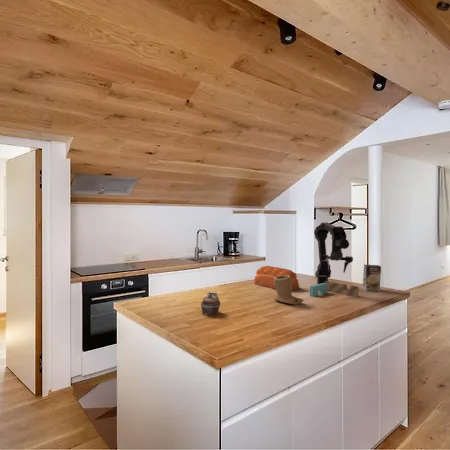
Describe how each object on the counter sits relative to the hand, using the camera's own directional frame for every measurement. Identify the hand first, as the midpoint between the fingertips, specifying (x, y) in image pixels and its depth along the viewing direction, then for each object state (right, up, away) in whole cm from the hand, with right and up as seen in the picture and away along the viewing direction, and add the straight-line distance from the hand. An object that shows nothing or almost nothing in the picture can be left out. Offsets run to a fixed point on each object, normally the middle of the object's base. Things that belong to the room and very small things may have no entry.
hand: (336, 272), depth 213 cm
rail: (+3, -13, +1) cm, 14 cm away
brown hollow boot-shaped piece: (-34, -14, -21) cm, 43 cm away
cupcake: (-75, -15, -42) cm, 88 cm away
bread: (-34, -13, +21) cm, 42 cm away
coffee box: (+26, -13, +11) cm, 31 cm away
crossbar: (-11, -13, -2) cm, 17 cm away
